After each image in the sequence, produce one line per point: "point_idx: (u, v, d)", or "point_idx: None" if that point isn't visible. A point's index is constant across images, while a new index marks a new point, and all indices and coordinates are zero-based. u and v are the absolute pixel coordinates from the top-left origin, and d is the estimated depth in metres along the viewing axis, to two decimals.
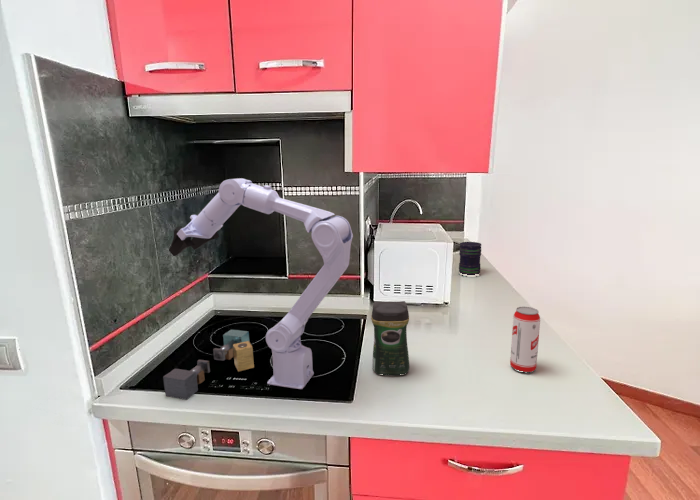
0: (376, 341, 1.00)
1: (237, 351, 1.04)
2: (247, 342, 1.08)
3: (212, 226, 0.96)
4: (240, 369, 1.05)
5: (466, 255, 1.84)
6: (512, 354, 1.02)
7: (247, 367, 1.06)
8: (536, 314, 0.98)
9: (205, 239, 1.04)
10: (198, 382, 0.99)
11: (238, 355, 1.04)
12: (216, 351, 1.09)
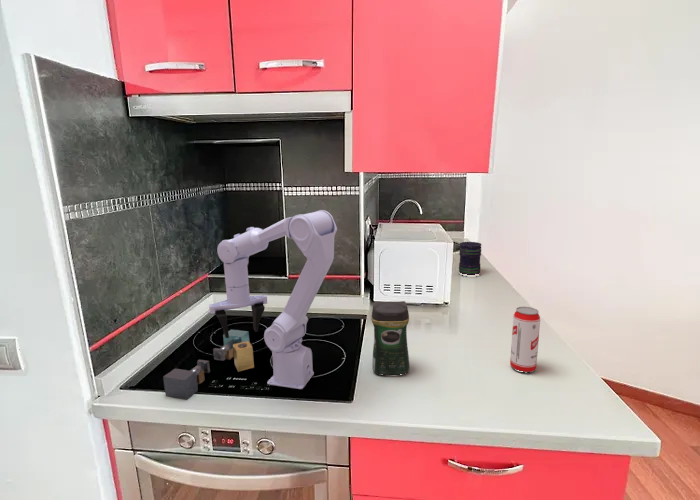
0: (376, 341, 1.00)
1: (237, 351, 1.04)
2: (247, 342, 1.08)
3: (232, 291, 1.01)
4: (240, 369, 1.05)
5: (466, 255, 1.84)
6: (512, 354, 1.02)
7: (247, 367, 1.06)
8: (536, 314, 0.98)
9: (255, 315, 1.05)
10: (198, 382, 0.99)
11: (238, 355, 1.04)
12: (216, 351, 1.09)
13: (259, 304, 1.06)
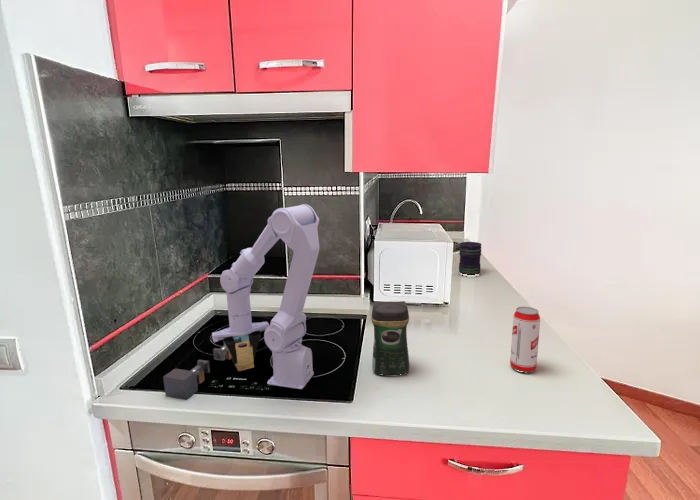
0: (376, 341, 1.00)
1: (237, 351, 1.04)
2: (247, 342, 1.08)
3: (235, 320, 1.02)
4: (240, 369, 1.05)
5: (466, 255, 1.84)
6: (512, 354, 1.02)
7: (247, 367, 1.06)
8: (536, 314, 0.98)
9: (252, 343, 1.06)
10: (198, 382, 0.99)
11: (238, 355, 1.04)
12: (216, 351, 1.09)
13: (256, 332, 1.07)
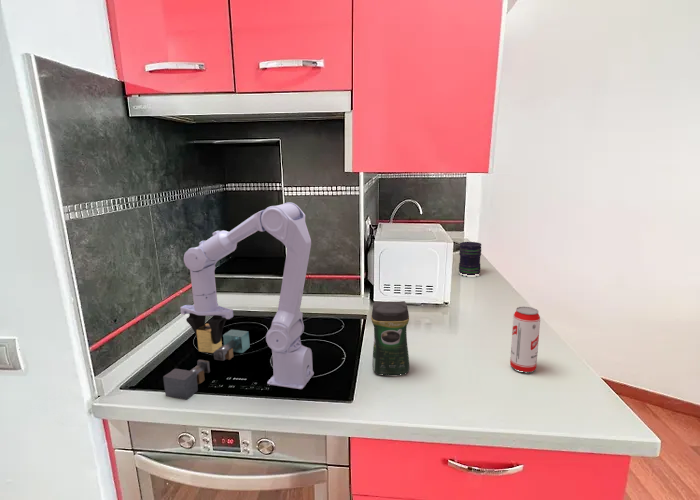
0: (376, 341, 1.00)
1: (197, 330, 1.03)
2: None
3: (193, 298, 1.01)
4: (200, 349, 1.04)
5: (466, 255, 1.84)
6: (512, 354, 1.02)
7: (206, 350, 1.03)
8: (536, 314, 0.98)
9: None
10: (198, 382, 0.99)
11: (198, 335, 1.03)
12: (216, 351, 1.09)
13: (217, 317, 1.02)
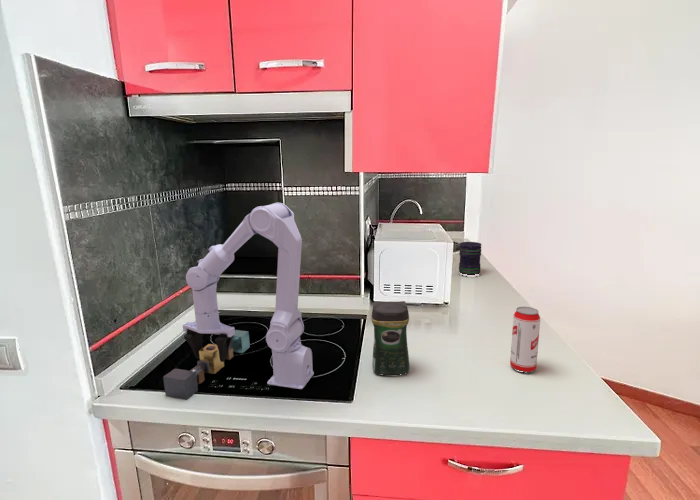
0: (376, 341, 1.00)
1: (199, 352, 1.04)
2: None
3: (195, 316, 1.02)
4: None
5: (466, 255, 1.84)
6: (512, 354, 1.02)
7: None
8: (536, 314, 0.98)
9: None
10: (198, 382, 0.99)
11: (200, 356, 1.04)
12: None
13: (223, 335, 1.02)
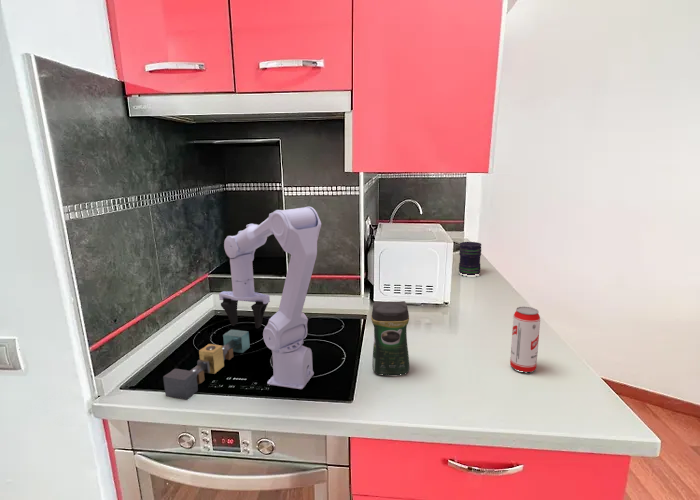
0: (376, 341, 1.00)
1: (199, 352, 1.04)
2: (218, 346, 1.06)
3: (232, 284, 1.07)
4: None
5: (466, 255, 1.84)
6: (512, 354, 1.02)
7: None
8: (536, 314, 0.98)
9: None
10: (198, 382, 0.99)
11: (200, 356, 1.04)
12: None
13: (259, 302, 1.07)
